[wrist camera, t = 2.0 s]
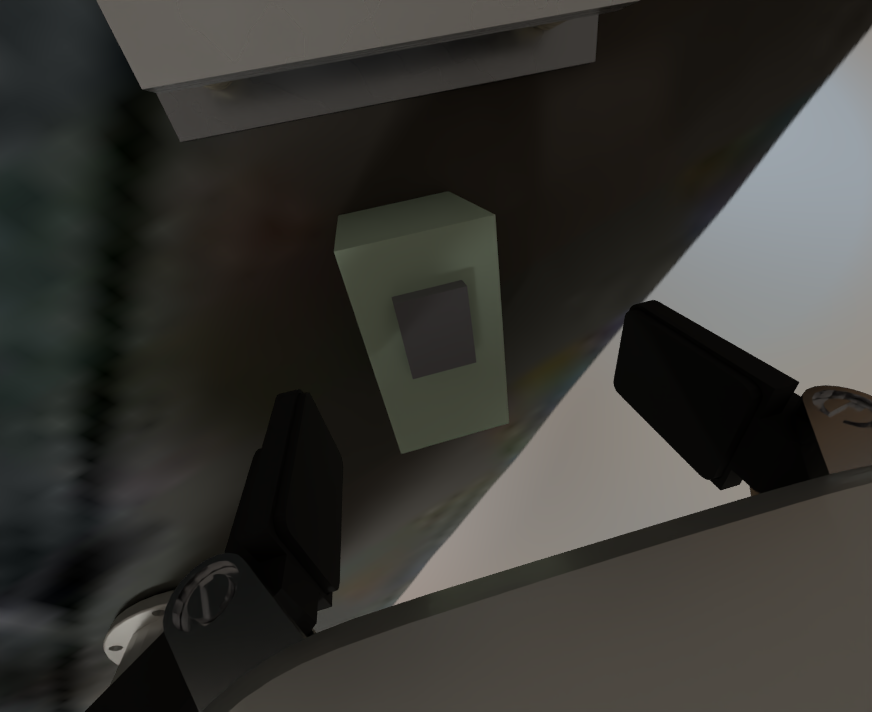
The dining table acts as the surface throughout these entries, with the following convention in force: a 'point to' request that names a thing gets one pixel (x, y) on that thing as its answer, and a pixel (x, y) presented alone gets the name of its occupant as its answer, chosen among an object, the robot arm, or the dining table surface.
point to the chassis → (336, 52)
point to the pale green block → (429, 314)
